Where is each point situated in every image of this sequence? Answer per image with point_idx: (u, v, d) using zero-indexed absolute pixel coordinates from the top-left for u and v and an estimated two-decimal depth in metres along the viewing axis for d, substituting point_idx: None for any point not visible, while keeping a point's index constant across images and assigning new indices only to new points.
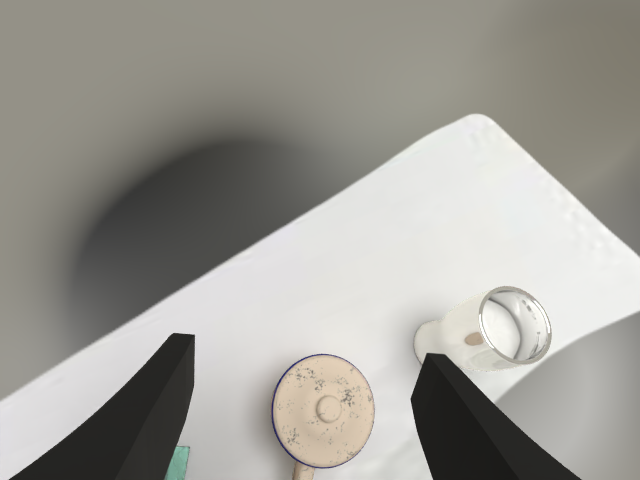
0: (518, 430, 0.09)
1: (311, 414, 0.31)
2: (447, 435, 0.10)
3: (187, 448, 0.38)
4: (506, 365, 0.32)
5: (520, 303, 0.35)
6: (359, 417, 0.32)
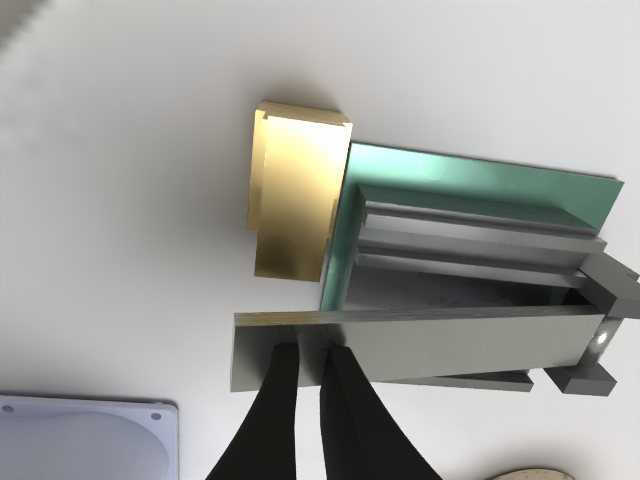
0: (391, 423, 0.09)
1: None
2: (335, 429, 0.10)
3: None
4: None
5: None
6: None
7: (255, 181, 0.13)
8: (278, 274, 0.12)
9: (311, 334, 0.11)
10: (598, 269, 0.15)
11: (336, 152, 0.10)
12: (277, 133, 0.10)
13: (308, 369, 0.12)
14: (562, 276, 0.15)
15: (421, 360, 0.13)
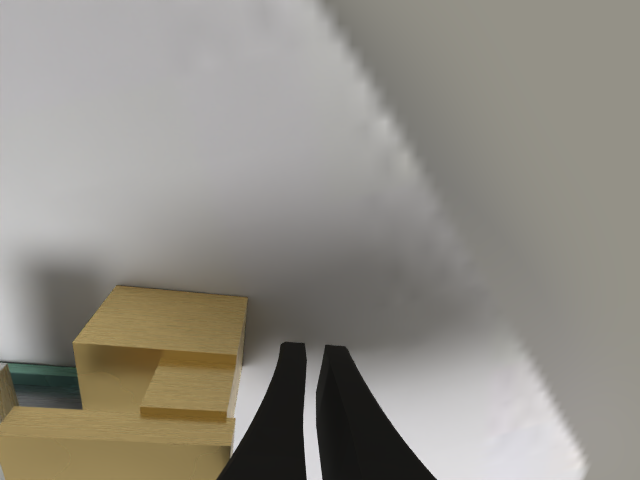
0: (386, 423, 0.09)
1: None
2: (330, 429, 0.10)
3: None
4: None
5: None
6: None
7: (147, 354, 0.10)
8: (5, 457, 0.08)
9: None
10: None
11: None
12: (211, 453, 0.08)
13: None
14: None
15: None
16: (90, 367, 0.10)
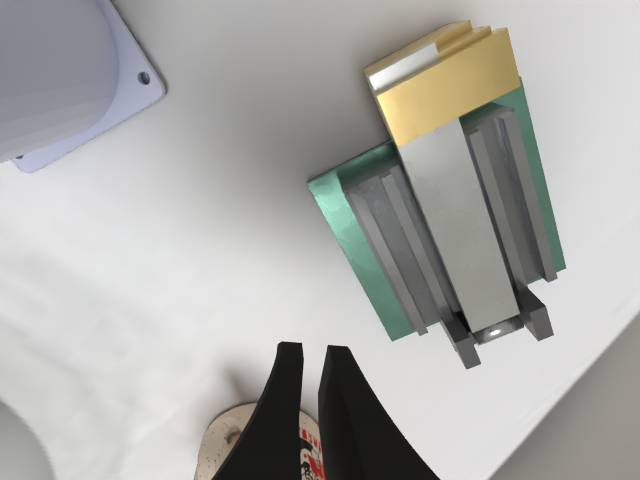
0: (389, 423, 0.09)
1: None
2: (333, 429, 0.10)
3: (393, 339, 0.24)
4: None
5: None
6: None
7: None
8: (387, 113, 0.14)
9: None
10: None
11: (501, 91, 0.14)
12: (497, 42, 0.13)
13: None
14: (521, 275, 0.19)
15: (443, 210, 0.16)
16: None
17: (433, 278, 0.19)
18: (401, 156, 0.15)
